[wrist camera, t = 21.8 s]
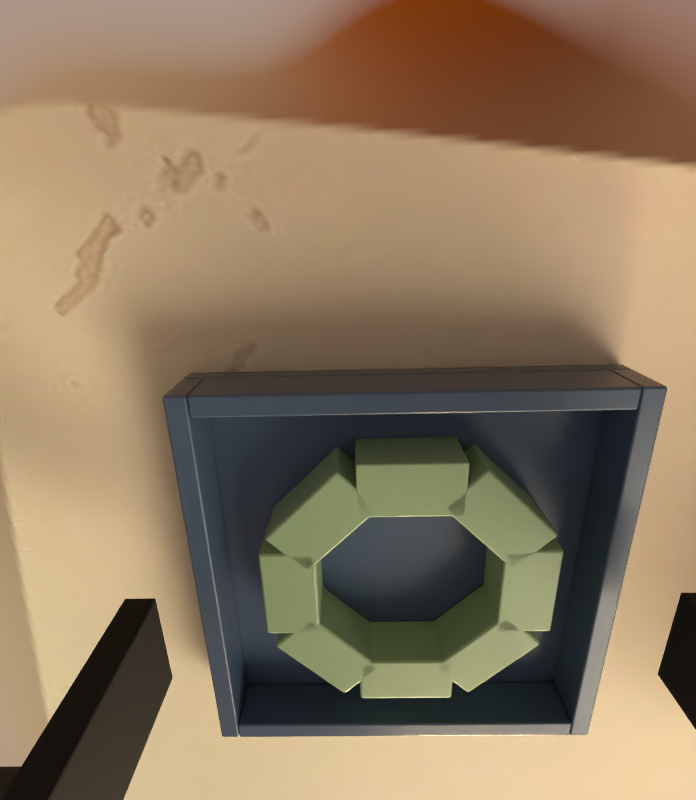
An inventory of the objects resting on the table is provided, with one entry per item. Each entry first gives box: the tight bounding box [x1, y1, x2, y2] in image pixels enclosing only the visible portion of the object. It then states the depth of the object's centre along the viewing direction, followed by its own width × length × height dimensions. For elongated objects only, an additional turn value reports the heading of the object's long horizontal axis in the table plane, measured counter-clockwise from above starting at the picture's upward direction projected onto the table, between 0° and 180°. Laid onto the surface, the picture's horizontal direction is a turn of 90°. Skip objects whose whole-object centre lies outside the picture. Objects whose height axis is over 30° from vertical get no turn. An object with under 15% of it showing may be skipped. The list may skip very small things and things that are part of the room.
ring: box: [258, 437, 563, 698], centre depth 14 cm, size 8×8×2 cm
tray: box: [163, 365, 667, 737], centre depth 14 cm, size 12×12×2 cm
